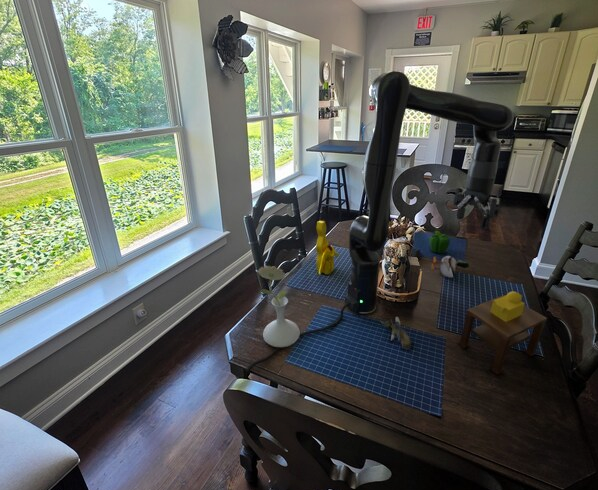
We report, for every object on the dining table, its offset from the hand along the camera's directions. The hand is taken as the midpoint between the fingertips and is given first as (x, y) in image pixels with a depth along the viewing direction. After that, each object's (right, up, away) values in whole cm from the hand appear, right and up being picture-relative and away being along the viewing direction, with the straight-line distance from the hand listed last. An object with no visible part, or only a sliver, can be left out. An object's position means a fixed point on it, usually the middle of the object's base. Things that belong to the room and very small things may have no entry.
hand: (471, 223), depth 104 cm
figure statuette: (-45, -20, +32) cm, 59 cm away
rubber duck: (+1, -25, -15) cm, 29 cm away
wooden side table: (+2, -37, -10) cm, 38 cm away
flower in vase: (-62, -36, -3) cm, 72 cm away
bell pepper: (+9, -13, +46) cm, 48 cm away
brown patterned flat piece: (-12, -15, +44) cm, 48 cm away
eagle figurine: (-26, -36, -5) cm, 44 cm away
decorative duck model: (+7, -22, +26) cm, 35 cm away
